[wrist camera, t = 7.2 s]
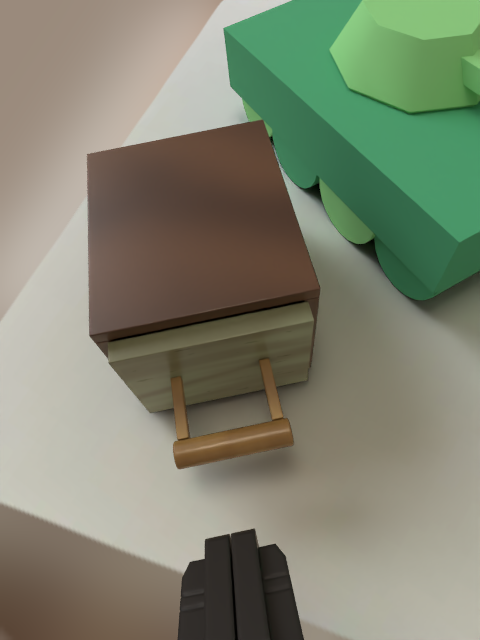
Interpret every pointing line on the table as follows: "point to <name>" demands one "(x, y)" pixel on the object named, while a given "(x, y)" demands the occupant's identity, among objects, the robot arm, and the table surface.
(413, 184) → the toy tank
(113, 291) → the cabinet
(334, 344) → the table surface
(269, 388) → the drawer
